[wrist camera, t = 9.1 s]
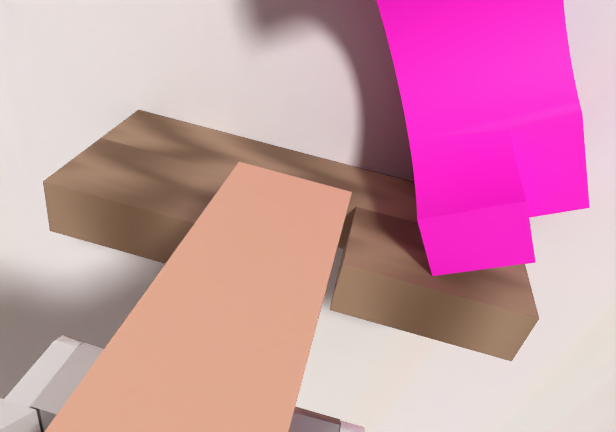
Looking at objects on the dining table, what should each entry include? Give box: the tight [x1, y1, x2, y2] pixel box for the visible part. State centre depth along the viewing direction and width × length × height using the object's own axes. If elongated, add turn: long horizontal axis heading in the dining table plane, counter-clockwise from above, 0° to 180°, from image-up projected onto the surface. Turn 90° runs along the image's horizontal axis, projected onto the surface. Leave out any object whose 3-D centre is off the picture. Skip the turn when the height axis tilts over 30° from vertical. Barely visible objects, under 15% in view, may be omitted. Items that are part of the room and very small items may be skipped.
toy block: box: [376, 0, 589, 276], centre depth 18 cm, size 15×6×8 cm, turn 19°
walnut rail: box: [43, 110, 539, 361], centre depth 23 cm, size 20×2×8 cm, turn 79°
